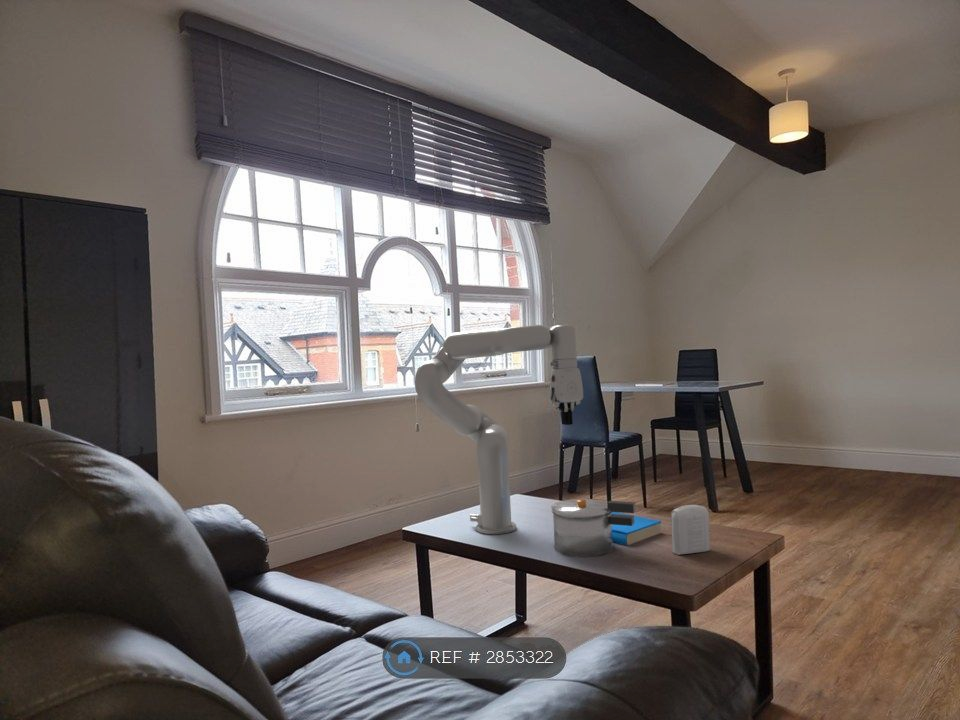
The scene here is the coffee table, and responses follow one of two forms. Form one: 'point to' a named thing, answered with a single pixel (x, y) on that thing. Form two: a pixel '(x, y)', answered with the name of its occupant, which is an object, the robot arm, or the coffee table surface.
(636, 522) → the book
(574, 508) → the lid
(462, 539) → the coffee table surface
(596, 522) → the cooker pot
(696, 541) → the white arched block
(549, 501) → the coffee table surface
